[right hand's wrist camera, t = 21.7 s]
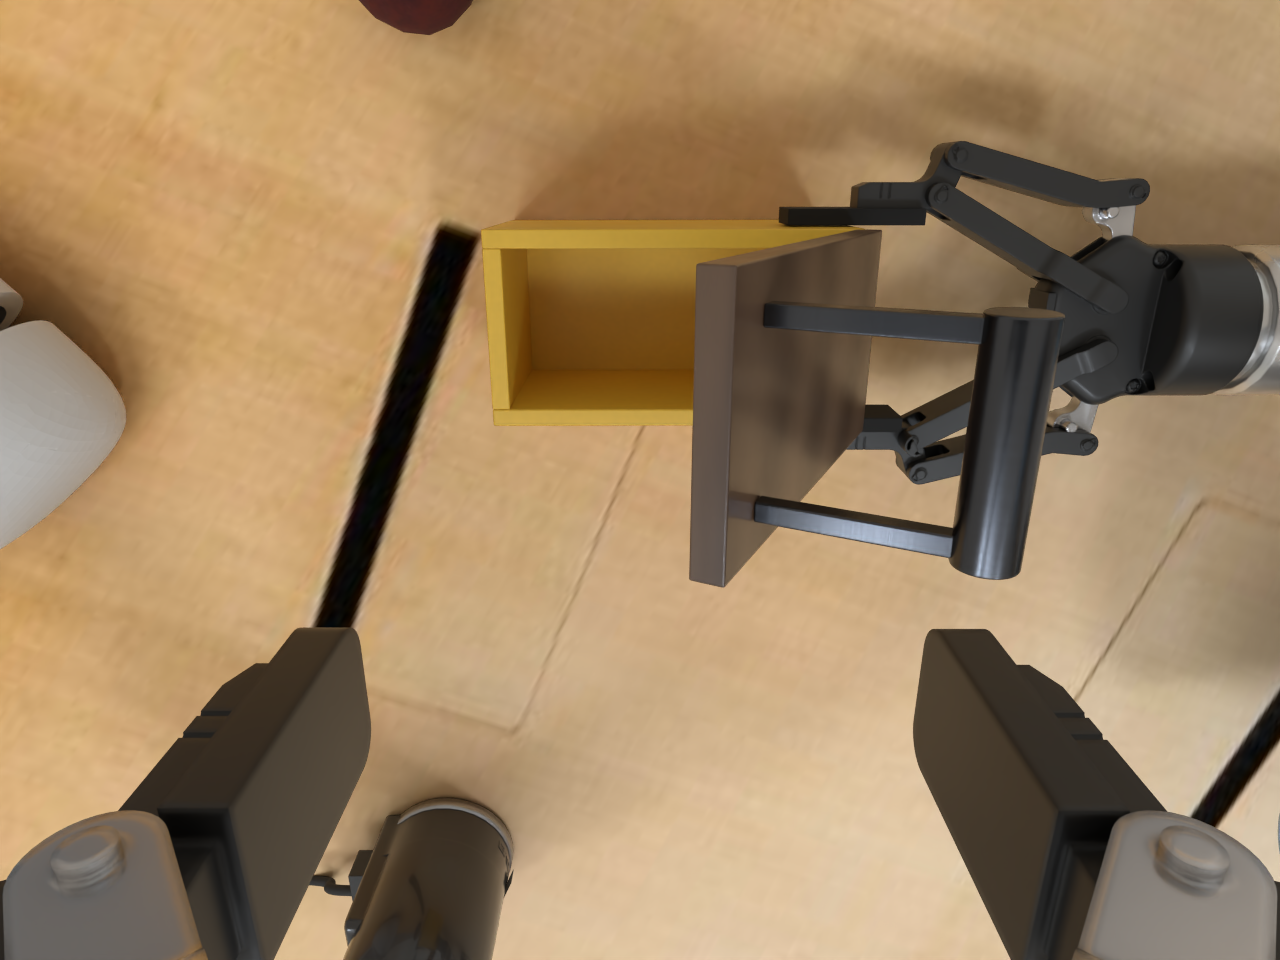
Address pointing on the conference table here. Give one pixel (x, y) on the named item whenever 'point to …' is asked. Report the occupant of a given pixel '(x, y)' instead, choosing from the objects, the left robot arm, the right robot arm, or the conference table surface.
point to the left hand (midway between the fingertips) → (777, 321)
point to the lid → (848, 406)
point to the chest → (604, 314)
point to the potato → (417, 13)
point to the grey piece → (48, 418)
